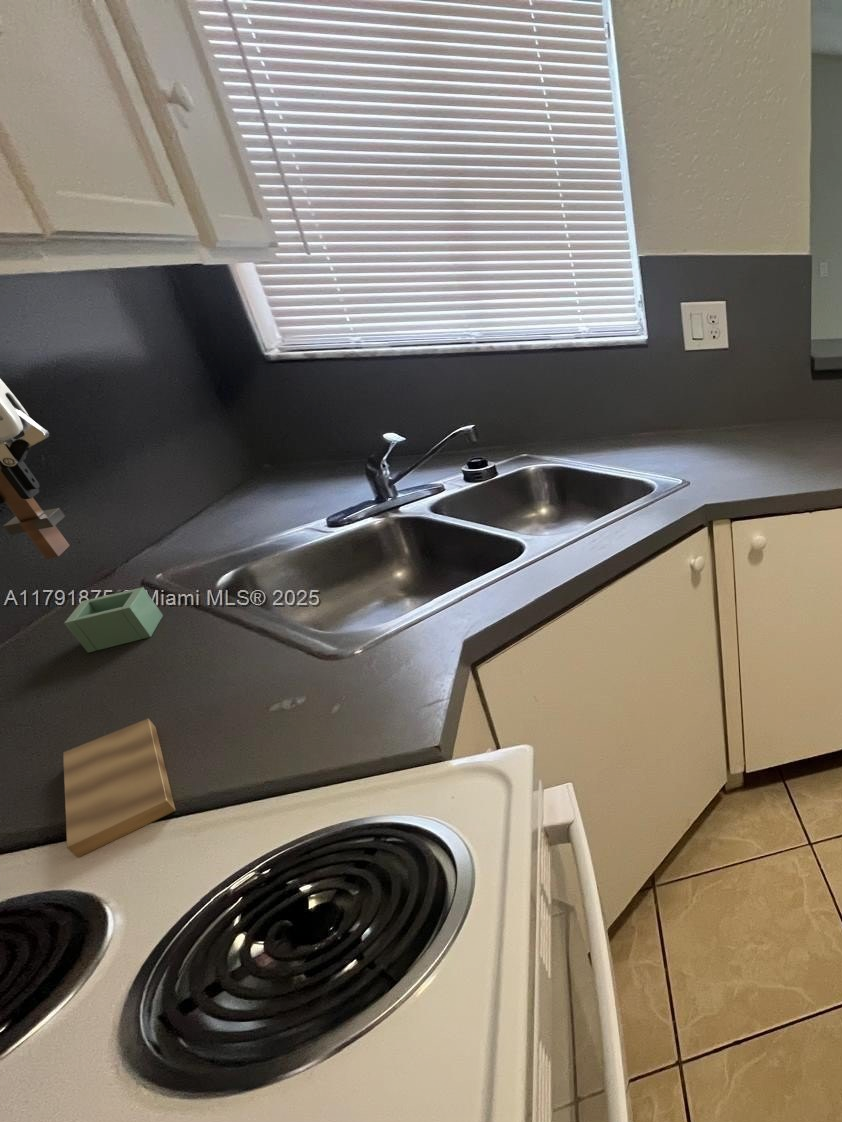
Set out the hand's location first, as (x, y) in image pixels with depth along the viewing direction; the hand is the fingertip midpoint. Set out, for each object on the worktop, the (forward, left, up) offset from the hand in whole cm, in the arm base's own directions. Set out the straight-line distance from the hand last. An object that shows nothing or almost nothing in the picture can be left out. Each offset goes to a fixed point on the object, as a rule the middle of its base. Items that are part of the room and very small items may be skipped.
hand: (17, 497), depth 77 cm
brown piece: (0, 0, -8) cm, 8 cm away
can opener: (-5, +15, -22) cm, 27 cm away
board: (+8, -36, -22) cm, 43 cm away
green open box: (0, +3, -22) cm, 22 cm away
